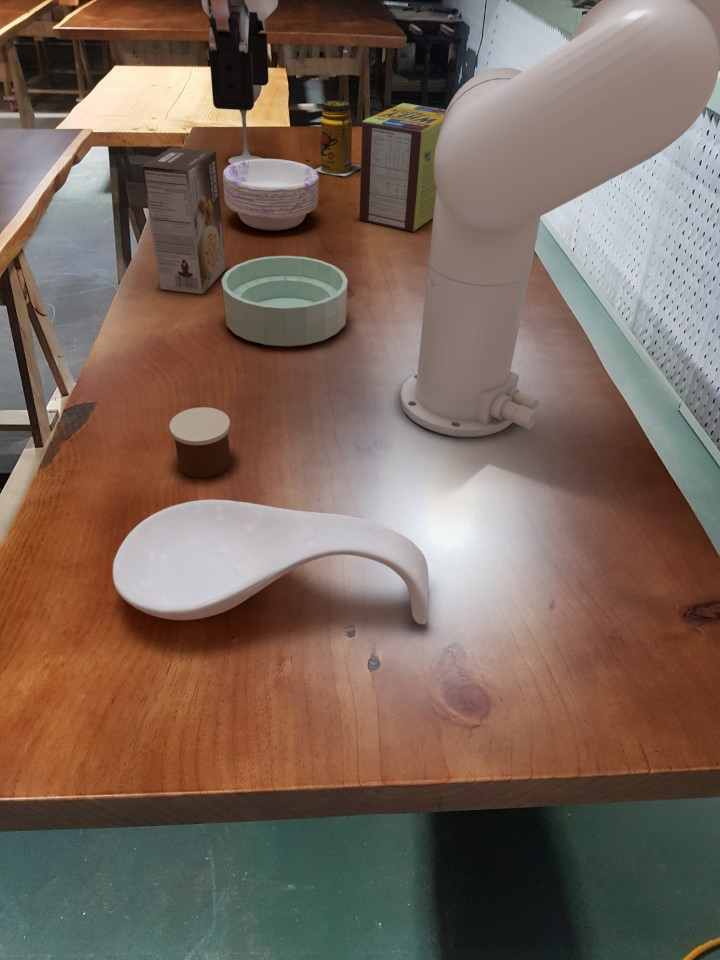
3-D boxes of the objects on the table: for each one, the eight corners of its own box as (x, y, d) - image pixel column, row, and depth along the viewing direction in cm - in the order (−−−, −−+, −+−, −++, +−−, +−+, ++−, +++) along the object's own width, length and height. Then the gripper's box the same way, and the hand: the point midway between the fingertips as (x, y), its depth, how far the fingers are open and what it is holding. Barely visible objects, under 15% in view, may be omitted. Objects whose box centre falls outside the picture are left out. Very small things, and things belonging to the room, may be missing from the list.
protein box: (449, 206, 127) (460, 110, 117) (413, 233, 116) (422, 129, 106) (396, 195, 130) (402, 101, 121) (357, 220, 120) (360, 119, 110)
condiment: (312, 171, 140) (311, 103, 133) (333, 161, 146) (333, 96, 139) (344, 177, 138) (346, 109, 130) (364, 167, 144) (367, 101, 136)
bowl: (370, 320, 91) (372, 280, 88) (286, 364, 82) (285, 320, 79) (286, 285, 99) (284, 246, 95) (200, 321, 89) (195, 280, 86)
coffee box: (185, 264, 103) (170, 145, 93) (227, 269, 102) (217, 149, 92) (158, 290, 96) (139, 164, 86) (203, 295, 95) (190, 169, 85)
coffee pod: (245, 461, 68) (242, 422, 65) (201, 488, 64) (195, 448, 62) (208, 438, 70) (203, 400, 67) (163, 463, 67) (156, 424, 64)
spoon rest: (97, 640, 51) (76, 570, 46) (146, 528, 60) (132, 461, 56) (427, 665, 50) (438, 598, 46) (426, 548, 59) (435, 482, 55)
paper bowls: (331, 232, 115) (332, 181, 110) (239, 242, 110) (235, 189, 105) (302, 202, 126) (301, 154, 121) (216, 210, 121) (212, 160, 116)
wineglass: (272, 160, 145) (268, 40, 131) (249, 169, 140) (241, 45, 126) (243, 154, 148) (236, 36, 134) (219, 162, 143) (209, 40, 129)
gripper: (266, -183, 44) (275, 122, 54) (292, -164, 57) (295, 78, 68) (143, -190, 43) (177, 117, 54) (198, -169, 57) (216, 74, 68)
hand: (242, 95), depth 61 cm, fingers open, 9 cm apart
